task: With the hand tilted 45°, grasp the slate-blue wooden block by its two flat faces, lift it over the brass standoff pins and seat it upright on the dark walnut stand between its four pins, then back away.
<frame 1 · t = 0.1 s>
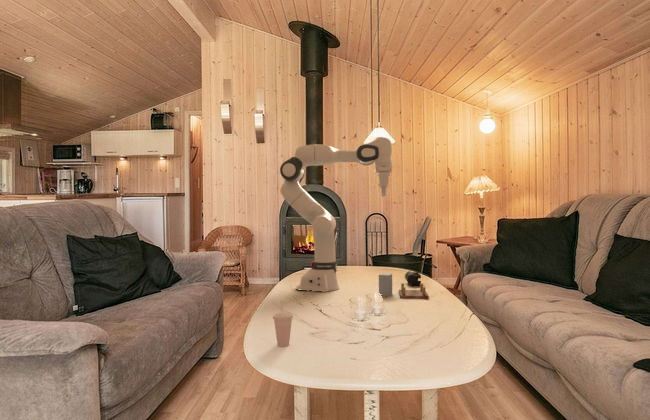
hand: (383, 196, 216), 48 cm above the table, tool pointing down, fingers open, 8 cm apart
slate block: (385, 294, 204), on the table
end cap: (412, 285, 227), on the table
stand: (413, 295, 202), on the table
smoothie: (283, 345, 135), on the table
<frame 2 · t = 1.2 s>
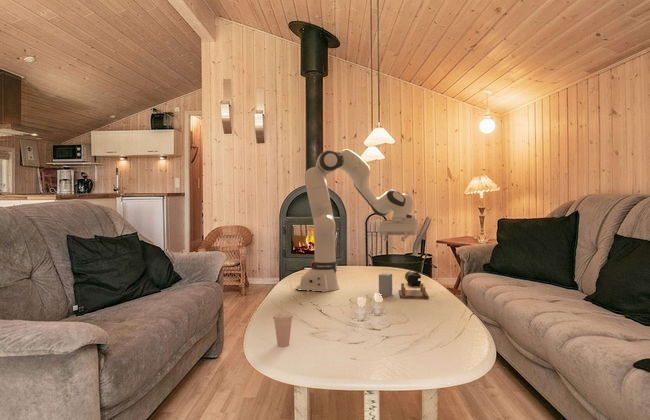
hand: (394, 240, 214), 25 cm above the table, tool tilted 45°, fingers open, 8 cm apart
nothing on the table moved.
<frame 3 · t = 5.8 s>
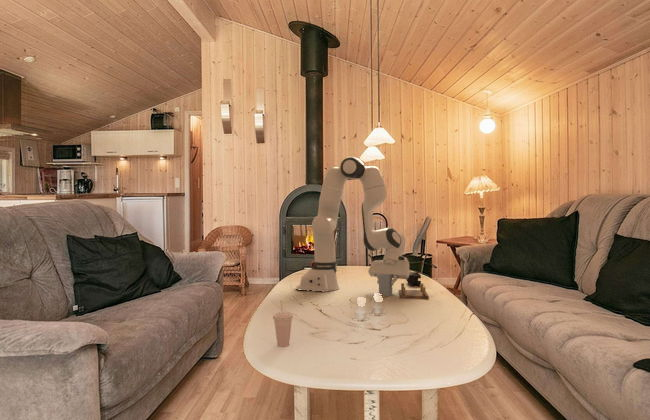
hand: (385, 283, 204), 5 cm above the table, tool tilted 45°, fingers closed on slate block, 5 cm apart
slate block: (385, 294, 204), on the table, touching gripper
everything else where it was.
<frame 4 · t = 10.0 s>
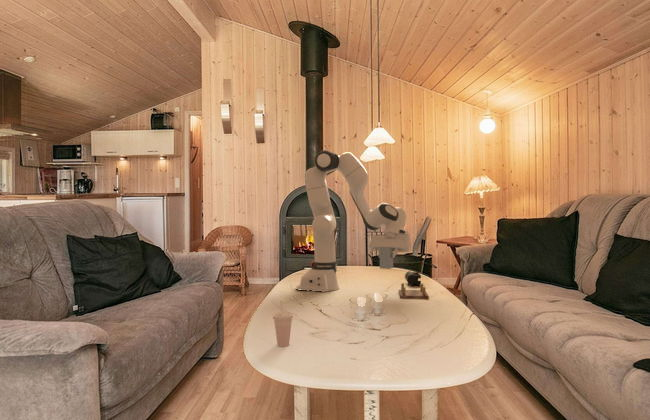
hand: (385, 256, 203), 18 cm above the table, tool tilted 45°, fingers closed on slate block, 5 cm apart
slate block: (386, 267, 204), point 13 cm above the table, touching gripper
everything else where it was.
when the fingers open (8 cm above the table, at t = 14.1 s): slate block drops 1 cm, resting on stand.
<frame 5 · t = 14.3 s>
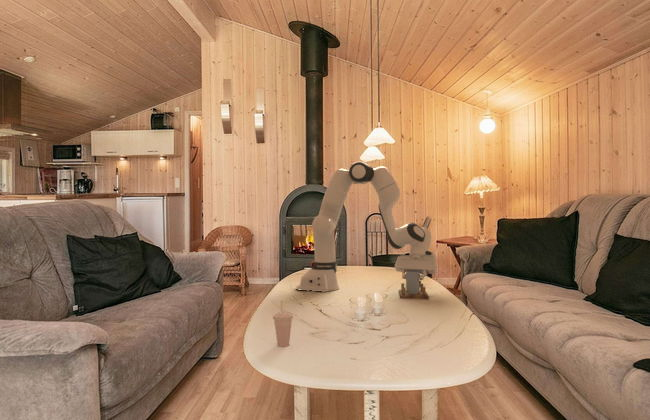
hand: (412, 278, 201), 8 cm above the table, tool tilted 45°, fingers open, 7 cm apart
slate block: (412, 292, 202), point 1 cm above the table, touching stand
everything else where it was.
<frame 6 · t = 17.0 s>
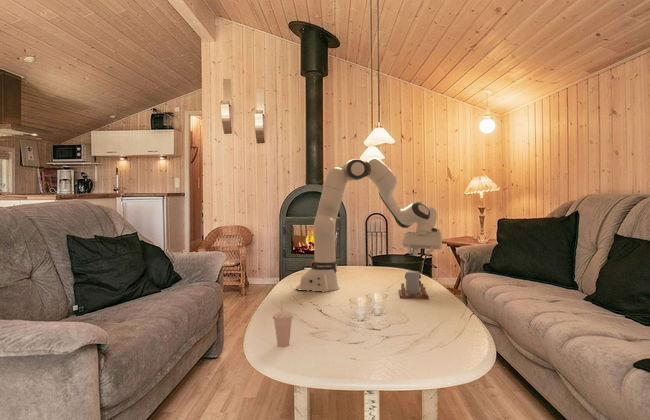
hand: (419, 253, 213), 18 cm above the table, tool tilted 45°, fingers open, 8 cm apart
nothing on the table moved.
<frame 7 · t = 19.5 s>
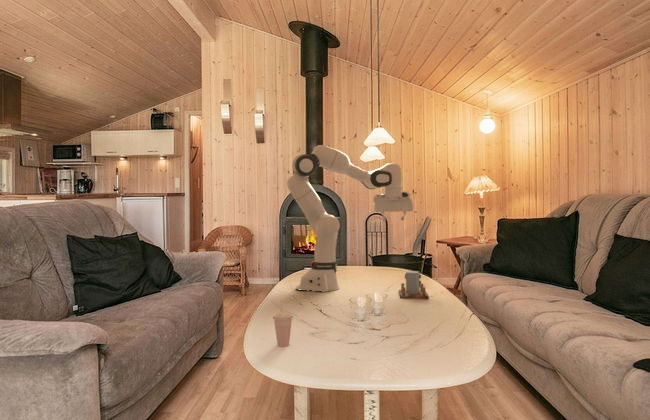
hand: (393, 220, 224), 35 cm above the table, tool pointing down, fingers open, 8 cm apart
nothing on the table moved.
at the end: slate block 0.1 cm off-centre on the stand, point 1.2 cm above the stand's base; slate block tilted 0°; the gripper is holding nothing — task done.
